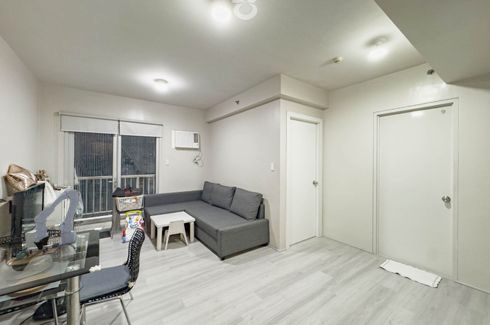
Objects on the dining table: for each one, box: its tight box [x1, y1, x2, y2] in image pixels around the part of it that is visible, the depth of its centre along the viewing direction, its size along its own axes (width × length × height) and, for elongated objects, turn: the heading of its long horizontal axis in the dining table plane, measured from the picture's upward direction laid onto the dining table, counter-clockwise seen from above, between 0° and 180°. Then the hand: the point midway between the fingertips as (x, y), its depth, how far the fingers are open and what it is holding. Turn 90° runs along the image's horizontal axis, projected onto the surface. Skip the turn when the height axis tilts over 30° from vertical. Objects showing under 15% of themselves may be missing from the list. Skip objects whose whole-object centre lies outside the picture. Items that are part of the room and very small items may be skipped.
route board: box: [13, 247, 59, 261], centre depth 149 cm, size 21×9×4 cm, turn 114°
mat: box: [29, 244, 64, 253], centre depth 157 cm, size 22×6×1 cm, turn 114°
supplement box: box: [24, 229, 37, 249], centre depth 164 cm, size 7×7×13 cm
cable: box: [25, 242, 60, 252], centre depth 157 cm, size 18×3×3 cm, turn 114°
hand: (43, 247), depth 157 cm, fingers open, 7 cm apart
